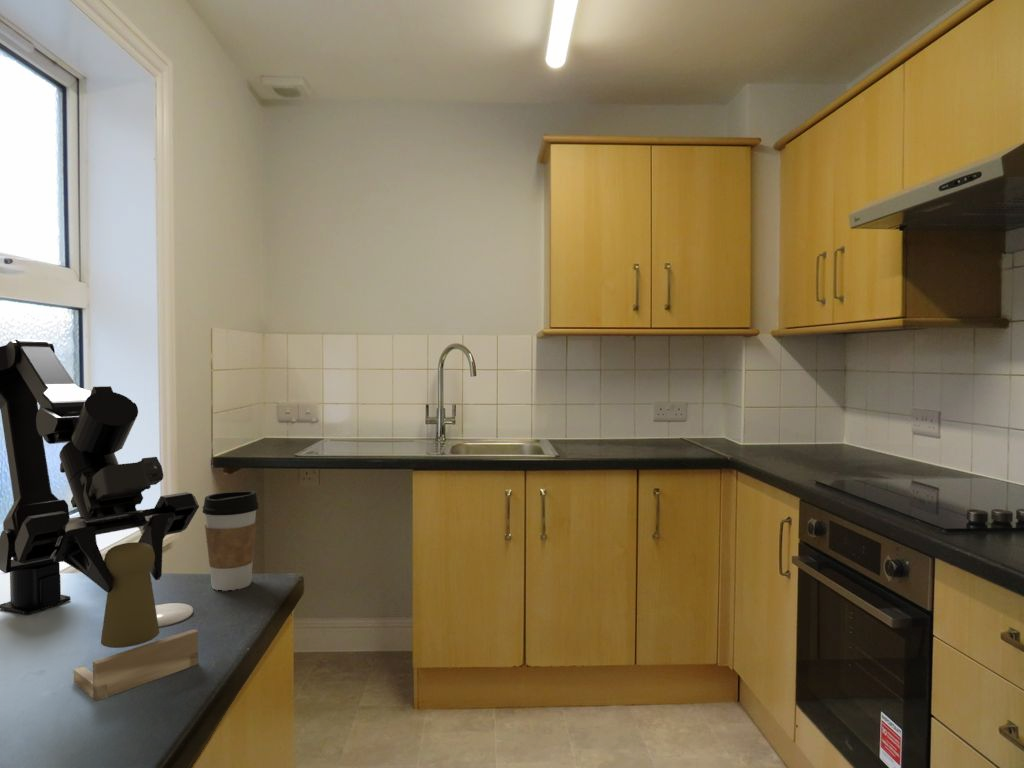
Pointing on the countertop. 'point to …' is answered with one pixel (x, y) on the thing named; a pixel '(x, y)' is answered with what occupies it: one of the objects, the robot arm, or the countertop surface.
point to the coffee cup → (230, 538)
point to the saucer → (172, 613)
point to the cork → (129, 597)
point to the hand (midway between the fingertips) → (135, 583)
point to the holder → (138, 665)
